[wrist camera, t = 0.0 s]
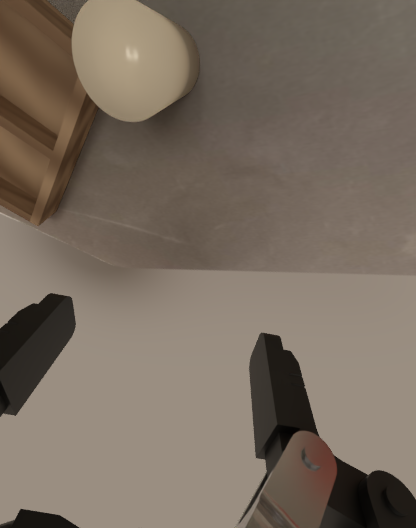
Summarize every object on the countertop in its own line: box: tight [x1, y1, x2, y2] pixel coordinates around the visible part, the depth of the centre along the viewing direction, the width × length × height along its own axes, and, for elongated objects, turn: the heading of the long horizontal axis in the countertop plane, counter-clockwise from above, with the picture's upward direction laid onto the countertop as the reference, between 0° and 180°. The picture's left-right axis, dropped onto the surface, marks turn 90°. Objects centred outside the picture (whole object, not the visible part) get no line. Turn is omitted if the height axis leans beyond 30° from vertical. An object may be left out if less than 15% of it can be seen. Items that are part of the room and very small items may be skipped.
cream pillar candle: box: [72, 0, 200, 122], centre depth 18 cm, size 5×5×12 cm
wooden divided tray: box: [0, 0, 98, 226], centre depth 25 cm, size 20×12×4 cm, turn 142°
